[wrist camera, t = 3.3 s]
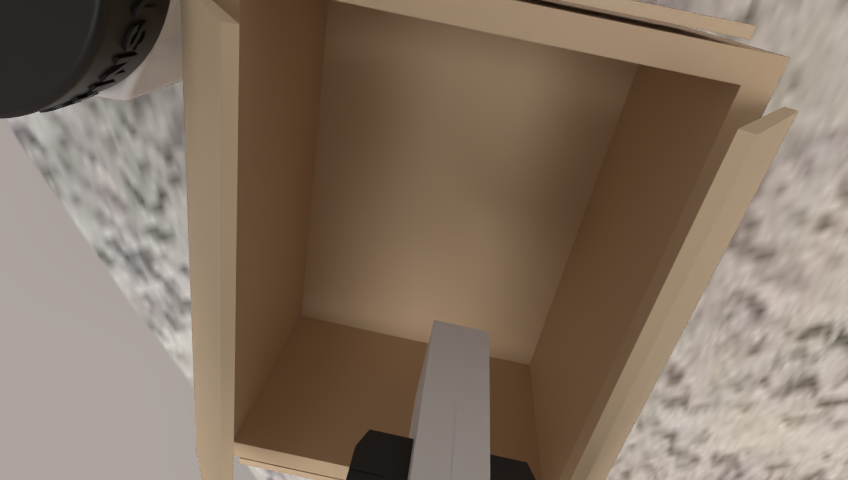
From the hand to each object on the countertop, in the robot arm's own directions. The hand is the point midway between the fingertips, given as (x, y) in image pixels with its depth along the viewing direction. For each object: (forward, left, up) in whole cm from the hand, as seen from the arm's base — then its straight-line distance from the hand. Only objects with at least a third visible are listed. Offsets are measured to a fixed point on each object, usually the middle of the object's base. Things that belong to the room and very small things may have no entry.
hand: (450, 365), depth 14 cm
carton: (0, -1, -12) cm, 12 cm away
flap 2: (0, +5, 0) cm, 5 cm away
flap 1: (0, -6, 0) cm, 6 cm away
